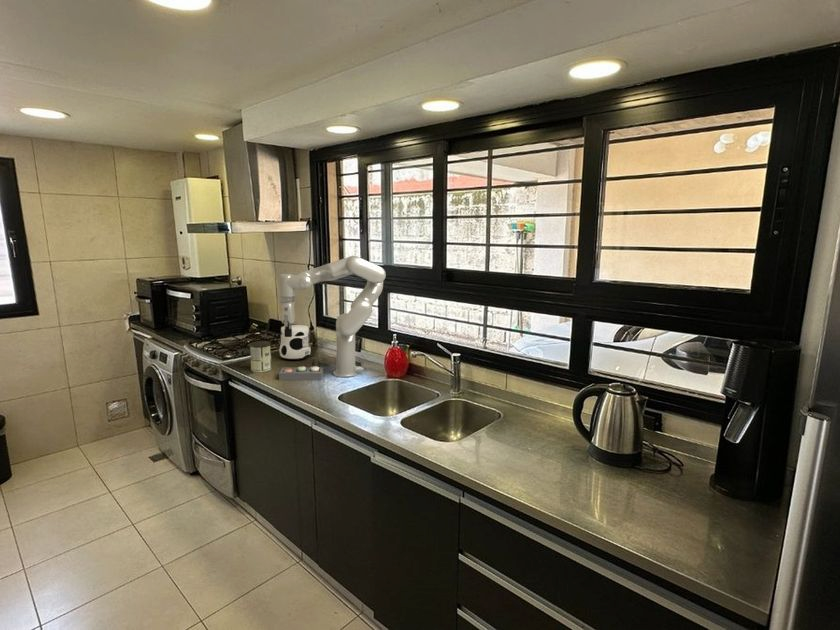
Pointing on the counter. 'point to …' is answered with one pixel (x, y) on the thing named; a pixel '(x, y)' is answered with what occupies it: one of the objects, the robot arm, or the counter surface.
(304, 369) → the green button
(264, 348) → the coffee can
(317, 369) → the cream button
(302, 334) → the milk container
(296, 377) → the button panel
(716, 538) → the counter surface
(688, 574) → the counter surface
